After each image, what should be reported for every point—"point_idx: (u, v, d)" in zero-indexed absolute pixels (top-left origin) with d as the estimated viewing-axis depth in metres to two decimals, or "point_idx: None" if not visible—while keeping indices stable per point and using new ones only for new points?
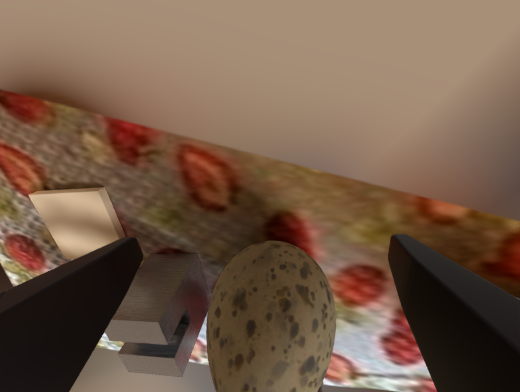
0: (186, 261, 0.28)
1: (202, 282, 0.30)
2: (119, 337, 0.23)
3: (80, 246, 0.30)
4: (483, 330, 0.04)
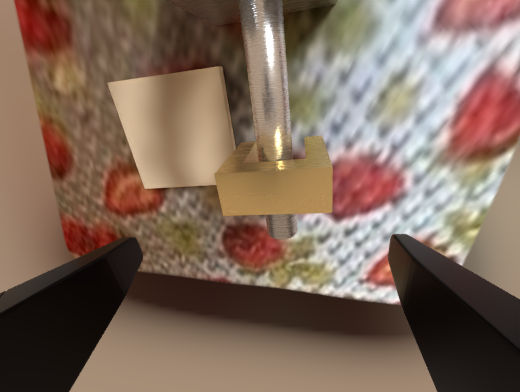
0: None
1: None
2: None
3: (209, 148, 0.20)
4: (483, 330, 0.04)
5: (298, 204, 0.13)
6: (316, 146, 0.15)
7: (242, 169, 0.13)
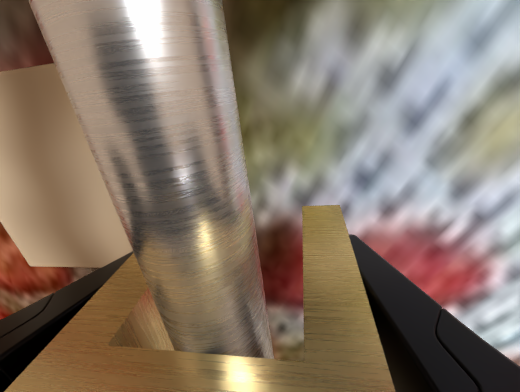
0: None
1: None
2: None
3: None
4: (387, 325, 0.04)
5: None
6: (333, 264, 0.06)
7: None
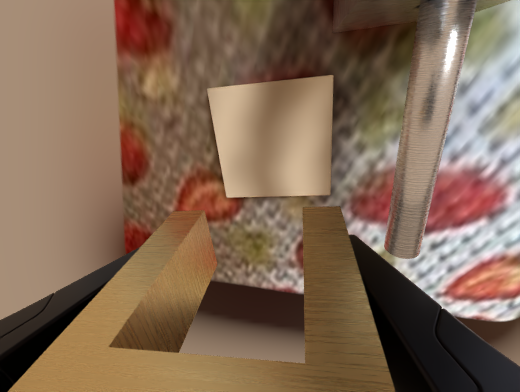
0: None
1: None
2: None
3: (306, 158, 0.19)
4: (388, 325, 0.04)
5: None
6: (334, 266, 0.06)
7: None
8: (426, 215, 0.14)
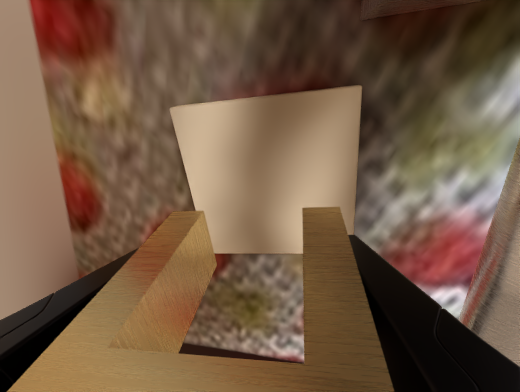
0: None
1: None
2: None
3: (318, 206, 0.13)
4: (388, 325, 0.04)
5: None
6: (333, 266, 0.06)
7: None
8: None
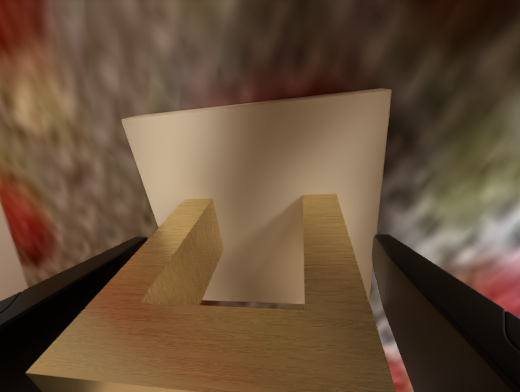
0: None
1: None
2: None
3: None
4: (449, 328, 0.04)
5: None
6: (329, 240, 0.06)
7: (117, 351, 0.04)
8: None
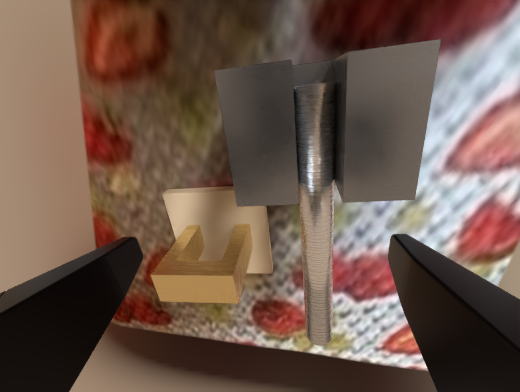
0: None
1: None
2: (284, 179, 0.11)
3: None
4: (483, 330, 0.04)
5: (213, 297, 0.17)
6: (237, 242, 0.19)
7: (172, 270, 0.17)
8: (328, 315, 0.17)
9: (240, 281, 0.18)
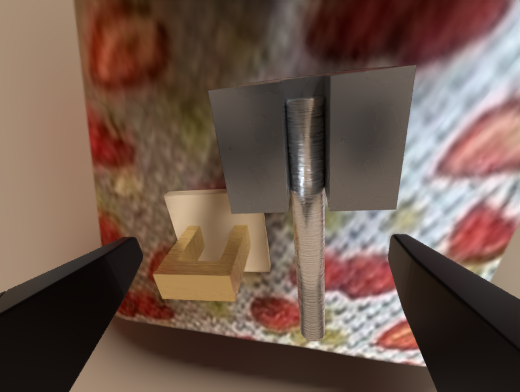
0: None
1: None
2: (274, 189, 0.12)
3: None
4: (483, 330, 0.04)
5: (212, 295, 0.18)
6: (235, 243, 0.20)
7: (173, 269, 0.18)
8: (321, 313, 0.18)
9: (237, 280, 0.19)
